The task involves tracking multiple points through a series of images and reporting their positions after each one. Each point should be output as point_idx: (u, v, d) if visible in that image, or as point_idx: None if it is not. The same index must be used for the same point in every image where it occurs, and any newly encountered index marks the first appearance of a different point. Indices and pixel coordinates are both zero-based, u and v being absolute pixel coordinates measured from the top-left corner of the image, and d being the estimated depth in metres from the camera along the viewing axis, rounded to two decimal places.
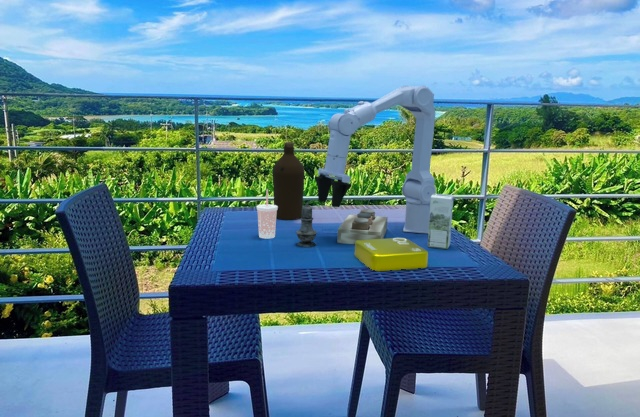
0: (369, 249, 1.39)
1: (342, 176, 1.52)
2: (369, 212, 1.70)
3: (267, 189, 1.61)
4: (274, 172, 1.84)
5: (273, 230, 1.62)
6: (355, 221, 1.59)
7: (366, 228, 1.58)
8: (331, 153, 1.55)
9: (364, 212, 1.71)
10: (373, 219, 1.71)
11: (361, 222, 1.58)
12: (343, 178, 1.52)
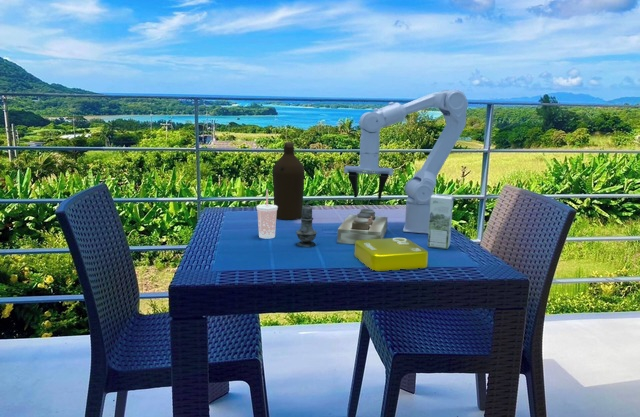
0: (369, 249, 1.39)
1: (389, 170, 1.67)
2: (369, 212, 1.70)
3: (267, 189, 1.61)
4: (274, 172, 1.84)
5: (273, 230, 1.62)
6: (355, 221, 1.59)
7: (366, 228, 1.58)
8: (361, 151, 1.67)
9: (364, 212, 1.71)
10: (373, 219, 1.71)
11: (361, 222, 1.58)
12: (391, 172, 1.67)
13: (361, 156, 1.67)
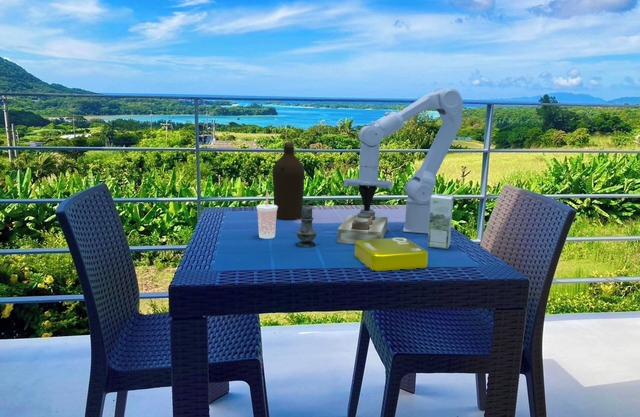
0: (369, 249, 1.39)
1: (389, 183, 1.68)
2: (369, 212, 1.70)
3: (267, 189, 1.61)
4: (274, 172, 1.84)
5: (273, 230, 1.62)
6: (355, 221, 1.59)
7: (366, 228, 1.58)
8: (361, 164, 1.68)
9: (364, 212, 1.71)
10: (373, 219, 1.71)
11: (361, 222, 1.58)
12: (390, 185, 1.68)
13: (360, 169, 1.68)
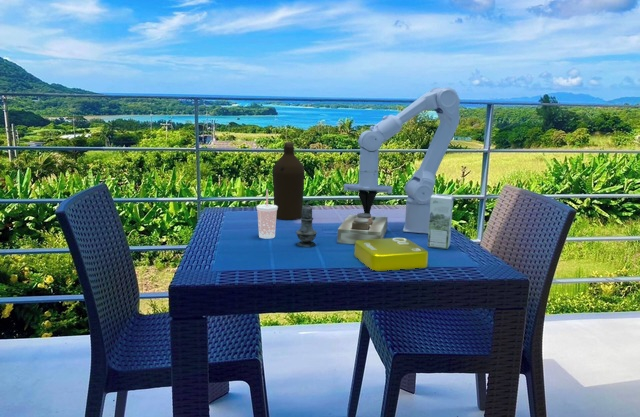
0: (369, 249, 1.39)
1: (388, 188, 1.68)
2: None
3: (267, 189, 1.61)
4: (274, 172, 1.84)
5: (273, 230, 1.62)
6: (355, 221, 1.59)
7: (366, 228, 1.58)
8: (361, 169, 1.68)
9: None
10: None
11: (361, 222, 1.58)
12: (390, 190, 1.68)
13: (360, 174, 1.69)
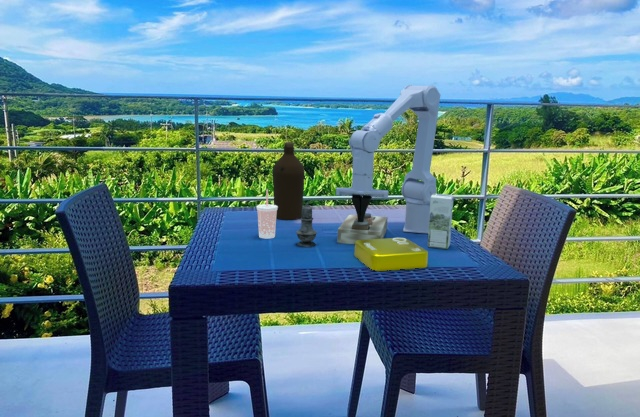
0: (369, 249, 1.39)
1: (384, 192, 1.56)
2: None
3: (267, 189, 1.61)
4: (274, 172, 1.84)
5: (273, 230, 1.62)
6: (355, 223, 1.59)
7: None
8: (359, 172, 1.54)
9: None
10: None
11: (361, 224, 1.58)
12: (386, 194, 1.56)
13: (354, 177, 1.56)
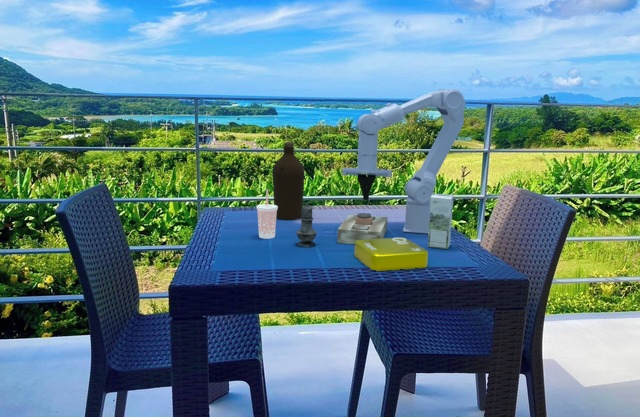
0: (369, 249, 1.39)
1: (388, 172, 1.67)
2: None
3: (267, 189, 1.61)
4: (274, 172, 1.84)
5: (273, 230, 1.62)
6: (355, 229, 1.59)
7: None
8: (360, 153, 1.67)
9: None
10: None
11: None
12: (389, 173, 1.67)
13: (359, 158, 1.67)
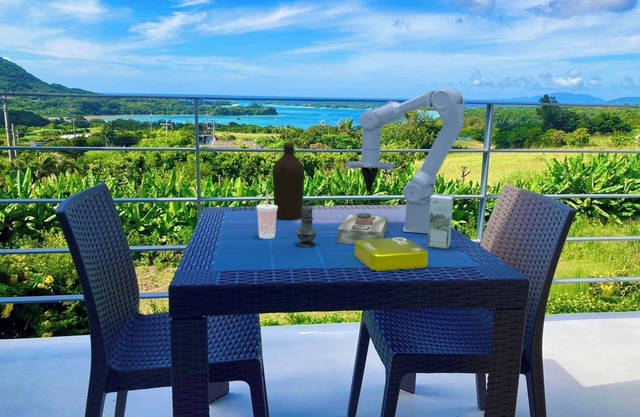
0: (369, 249, 1.39)
1: (389, 165, 1.78)
2: None
3: (267, 189, 1.61)
4: (274, 172, 1.84)
5: (273, 230, 1.62)
6: (355, 229, 1.59)
7: None
8: (362, 146, 1.80)
9: None
10: None
11: None
12: (391, 167, 1.79)
13: (363, 152, 1.79)
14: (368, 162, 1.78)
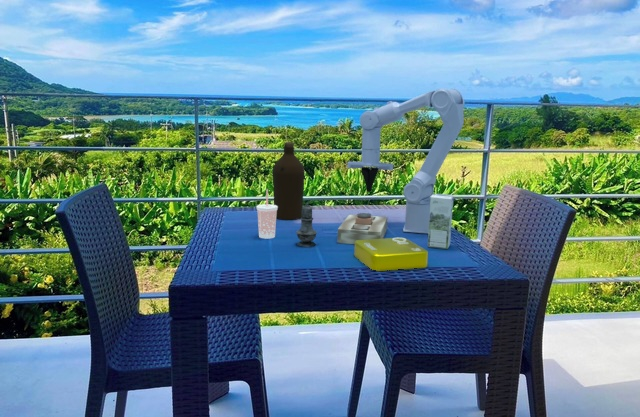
0: (369, 249, 1.39)
1: (389, 165, 1.78)
2: None
3: (267, 189, 1.61)
4: (274, 172, 1.84)
5: (273, 230, 1.62)
6: (355, 229, 1.59)
7: None
8: (362, 146, 1.80)
9: None
10: None
11: None
12: (391, 167, 1.79)
13: (363, 152, 1.79)
14: (368, 162, 1.78)
